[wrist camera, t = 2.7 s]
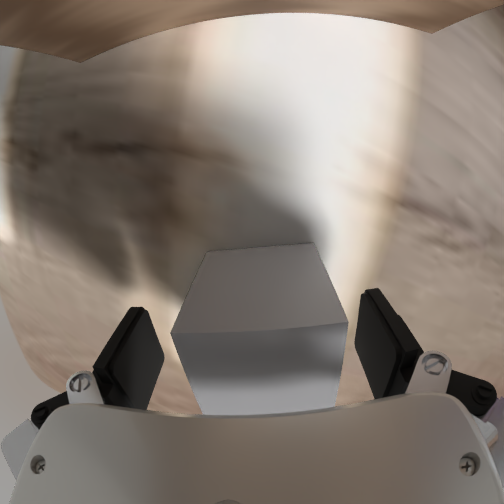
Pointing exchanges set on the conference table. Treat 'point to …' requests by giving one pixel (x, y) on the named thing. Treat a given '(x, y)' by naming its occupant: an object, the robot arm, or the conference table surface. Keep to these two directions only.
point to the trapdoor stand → (191, 18)
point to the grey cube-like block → (262, 332)
